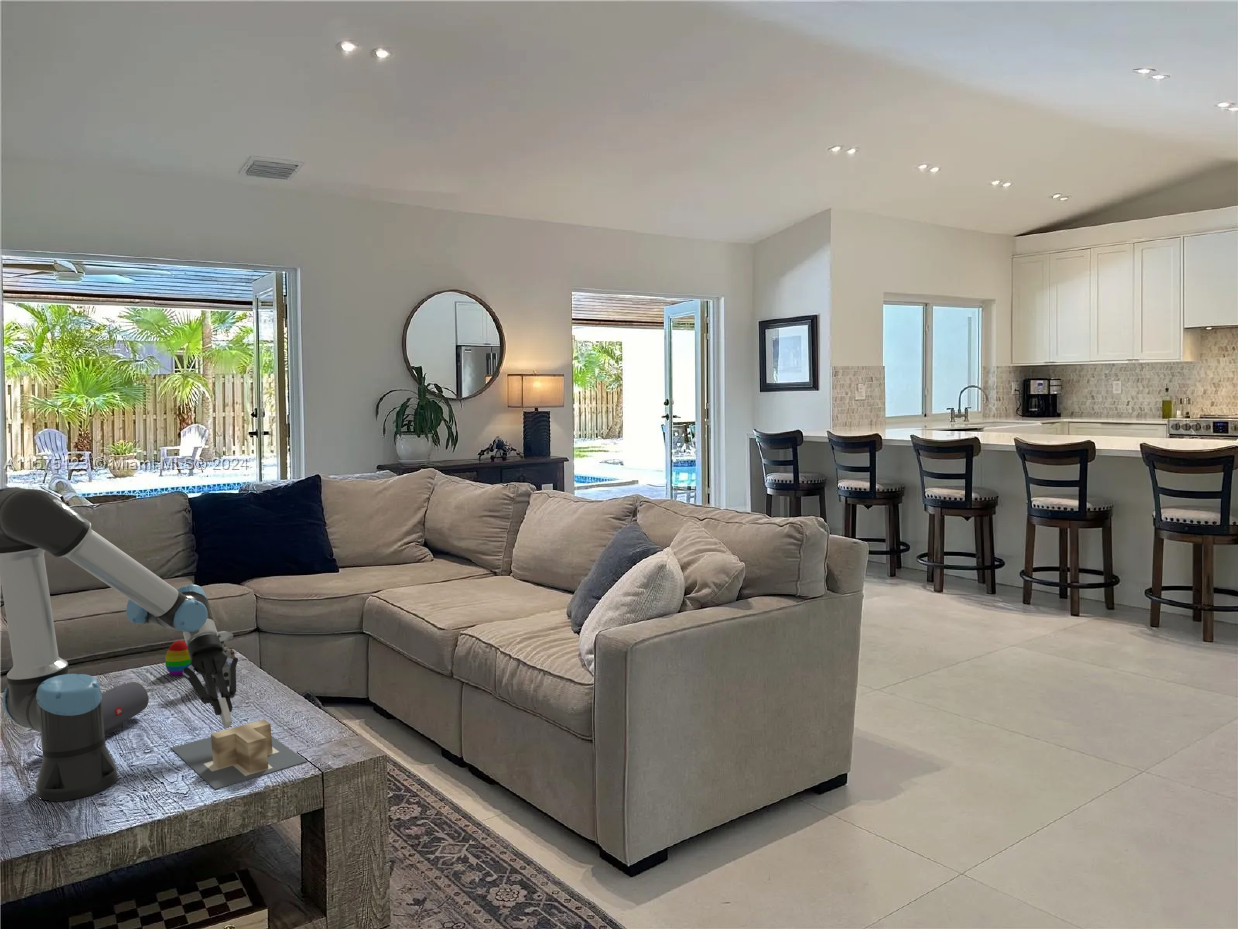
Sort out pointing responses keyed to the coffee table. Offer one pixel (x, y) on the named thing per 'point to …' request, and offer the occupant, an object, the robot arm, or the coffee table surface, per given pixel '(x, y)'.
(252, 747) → the t block
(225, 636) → the figurine
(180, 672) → the decorative egg
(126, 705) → the bluetooth speaker
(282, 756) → the mat
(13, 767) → the coffee table surface
